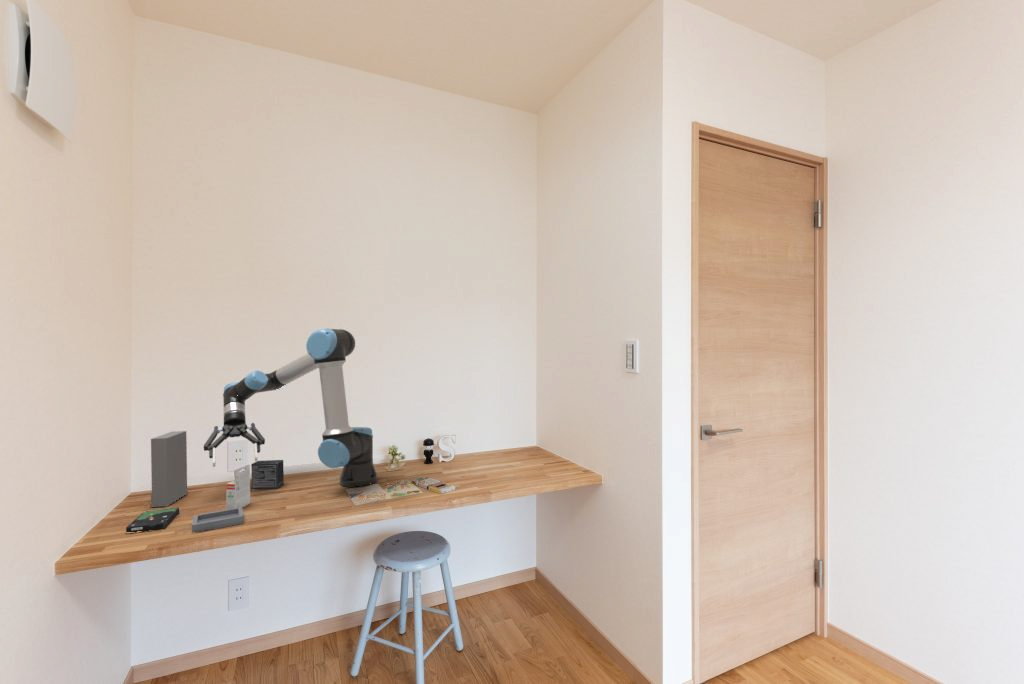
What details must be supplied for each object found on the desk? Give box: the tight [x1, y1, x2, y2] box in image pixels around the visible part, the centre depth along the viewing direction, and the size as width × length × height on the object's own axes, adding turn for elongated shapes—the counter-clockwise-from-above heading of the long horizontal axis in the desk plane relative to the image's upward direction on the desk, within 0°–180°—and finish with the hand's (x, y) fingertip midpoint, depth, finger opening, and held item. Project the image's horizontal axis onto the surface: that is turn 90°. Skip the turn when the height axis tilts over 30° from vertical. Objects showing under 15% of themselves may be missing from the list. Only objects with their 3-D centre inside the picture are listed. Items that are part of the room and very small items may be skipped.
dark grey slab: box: [149, 430, 189, 508], centre depth 175 cm, size 14×6×25 cm, turn 9°
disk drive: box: [125, 507, 180, 533], centre depth 154 cm, size 10×3×15 cm
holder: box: [191, 507, 244, 534], centre depth 153 cm, size 14×10×2 cm
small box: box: [250, 459, 285, 490], centre depth 191 cm, size 11×6×10 cm, turn 94°
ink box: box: [225, 464, 251, 510], centre depth 167 cm, size 4×8×15 cm, turn 172°
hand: (235, 462), depth 174 cm, fingers open, 13 cm apart
